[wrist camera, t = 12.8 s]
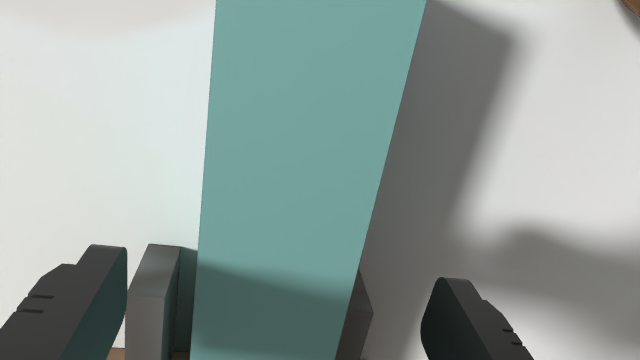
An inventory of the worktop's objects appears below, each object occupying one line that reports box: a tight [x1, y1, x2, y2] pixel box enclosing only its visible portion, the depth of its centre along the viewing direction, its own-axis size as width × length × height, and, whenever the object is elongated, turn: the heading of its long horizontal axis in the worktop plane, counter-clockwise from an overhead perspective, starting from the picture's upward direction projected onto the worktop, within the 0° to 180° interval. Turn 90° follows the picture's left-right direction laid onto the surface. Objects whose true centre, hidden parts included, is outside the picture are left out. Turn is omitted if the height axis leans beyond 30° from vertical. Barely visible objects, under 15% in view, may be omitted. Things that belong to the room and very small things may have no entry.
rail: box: [190, 0, 427, 360], centre depth 14 cm, size 4×16×6 cm, turn 170°
